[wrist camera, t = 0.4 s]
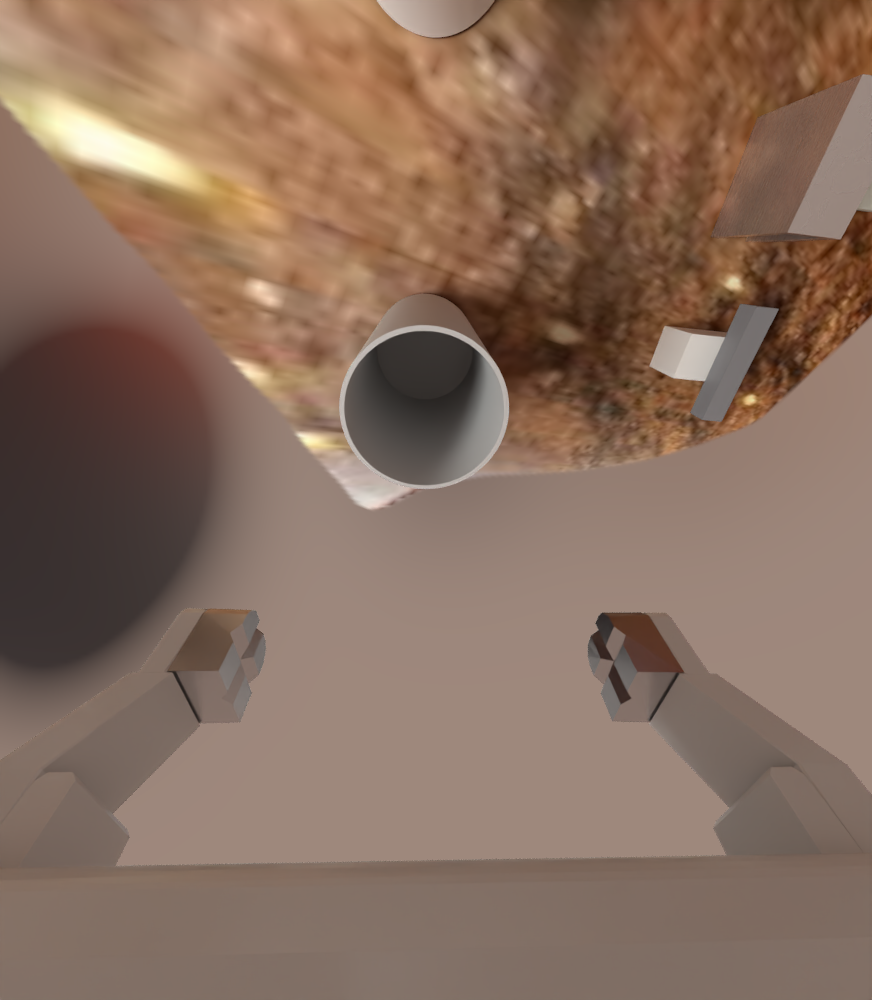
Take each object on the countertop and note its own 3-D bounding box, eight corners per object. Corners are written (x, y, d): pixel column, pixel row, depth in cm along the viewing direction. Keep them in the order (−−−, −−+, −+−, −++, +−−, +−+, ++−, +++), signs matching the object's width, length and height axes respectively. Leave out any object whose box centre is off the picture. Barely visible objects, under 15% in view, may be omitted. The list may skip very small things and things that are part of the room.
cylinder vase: (493, 346, 50) (543, 413, 29) (427, 414, 55) (428, 514, 34) (422, 268, 45) (419, 280, 24) (356, 349, 50) (305, 419, 29)
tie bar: (740, 303, 41) (756, 306, 39) (761, 306, 42) (778, 309, 39) (690, 412, 48) (702, 419, 46) (708, 414, 48) (721, 421, 46)
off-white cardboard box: (664, 325, 49) (691, 333, 44) (723, 332, 50) (757, 340, 45) (649, 365, 52) (673, 378, 47) (705, 371, 53) (735, 384, 48)
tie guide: (757, 117, 39) (862, 74, 30) (805, 124, 39) (924, 84, 30) (710, 236, 44) (787, 232, 35) (753, 242, 45) (840, 239, 35)
